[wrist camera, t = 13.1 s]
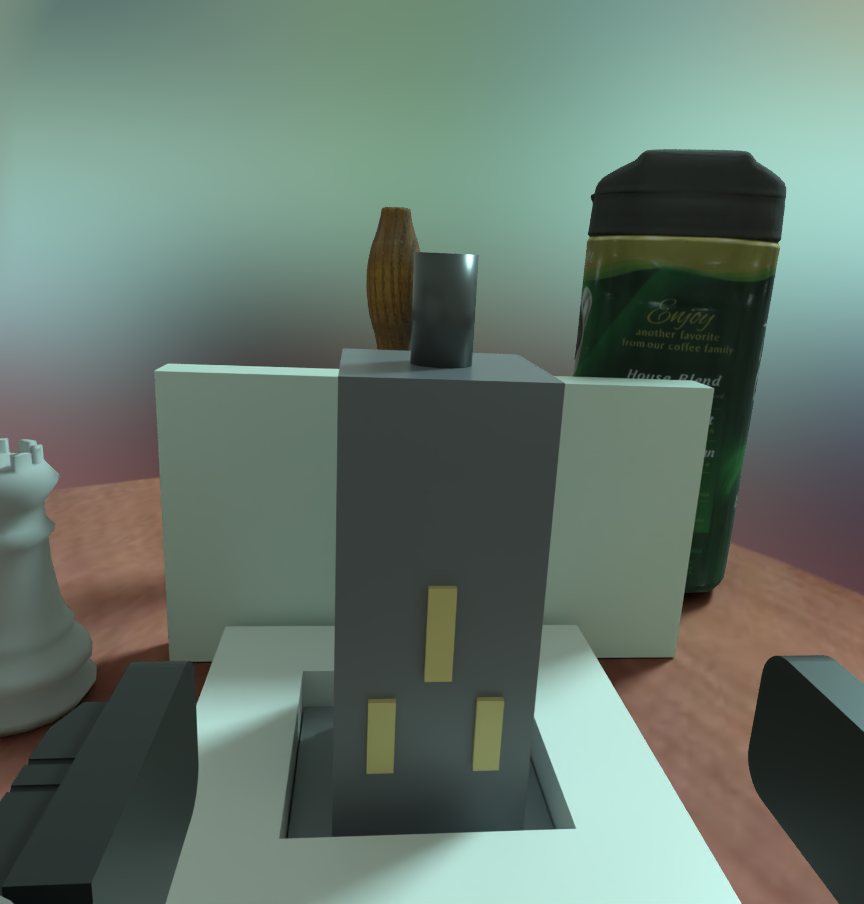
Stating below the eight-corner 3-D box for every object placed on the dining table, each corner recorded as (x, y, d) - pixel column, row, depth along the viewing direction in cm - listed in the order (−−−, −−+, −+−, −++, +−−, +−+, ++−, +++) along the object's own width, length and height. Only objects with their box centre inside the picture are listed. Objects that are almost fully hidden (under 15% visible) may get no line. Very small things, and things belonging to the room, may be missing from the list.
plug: (331, 853, 17) (339, 246, 13) (337, 726, 21) (344, 249, 18) (523, 845, 17) (579, 258, 14) (489, 723, 21) (524, 258, 18)
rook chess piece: (-96, 706, 22) (-137, 449, 20) (51, 646, 25) (29, 424, 23) (-22, 767, 19) (-59, 482, 17) (128, 691, 23) (111, 448, 21)
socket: (-14, 1046, 13) (-94, 504, 10) (180, 638, 26) (168, 363, 24) (935, 988, 14) (1070, 518, 12) (657, 635, 28) (693, 380, 25)
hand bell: (306, 581, 31) (307, 194, 27) (307, 516, 39) (307, 208, 35) (491, 576, 33) (518, 207, 29) (455, 514, 41) (473, 218, 37)
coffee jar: (738, 616, 30) (821, 135, 25) (547, 589, 32) (590, 133, 27) (709, 536, 39) (765, 171, 34) (562, 518, 41) (596, 168, 36)
